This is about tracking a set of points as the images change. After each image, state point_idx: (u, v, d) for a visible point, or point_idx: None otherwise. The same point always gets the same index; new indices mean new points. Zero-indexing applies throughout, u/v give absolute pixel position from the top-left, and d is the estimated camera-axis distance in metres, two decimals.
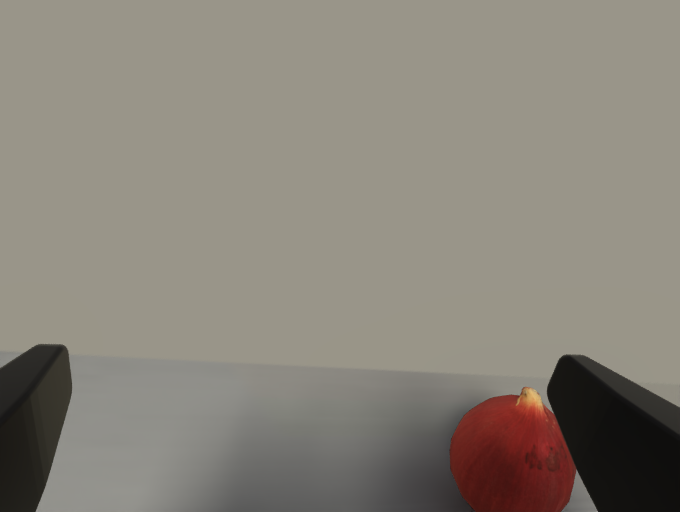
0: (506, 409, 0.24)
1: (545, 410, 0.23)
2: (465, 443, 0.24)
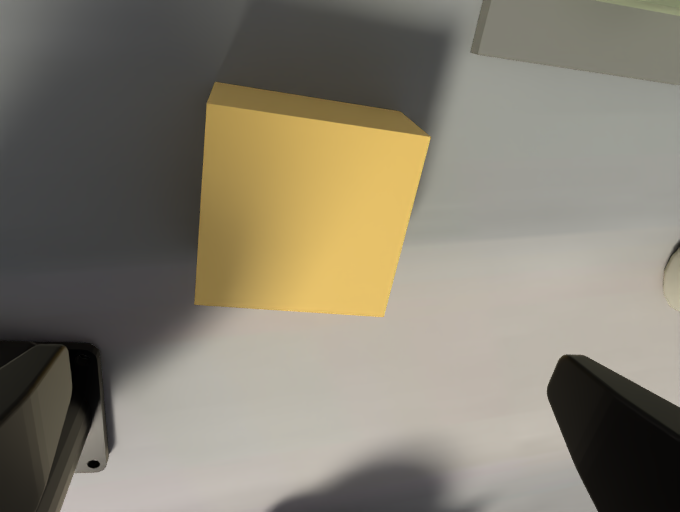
0: None
1: None
2: None
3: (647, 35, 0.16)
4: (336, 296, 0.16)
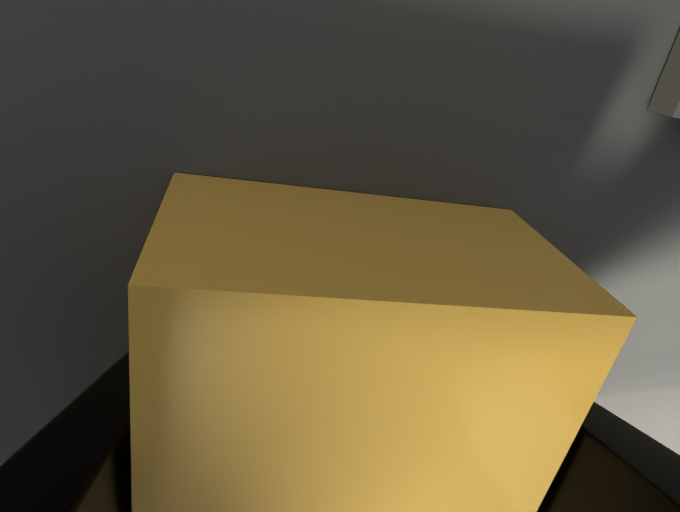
0: None
1: None
2: None
3: None
4: None
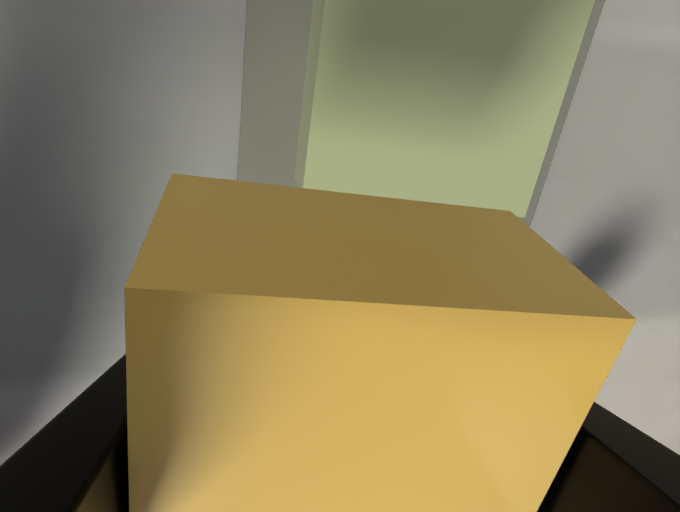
0: None
1: None
2: None
3: None
4: None
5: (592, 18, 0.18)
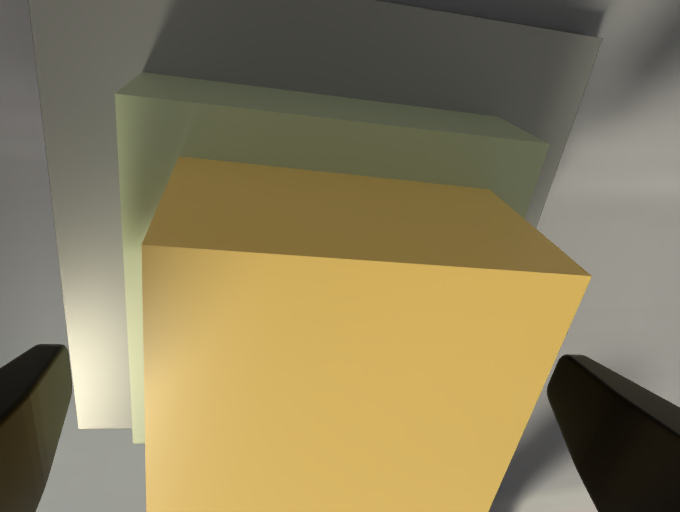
0: None
1: None
2: None
3: None
4: None
5: (545, 177, 0.13)
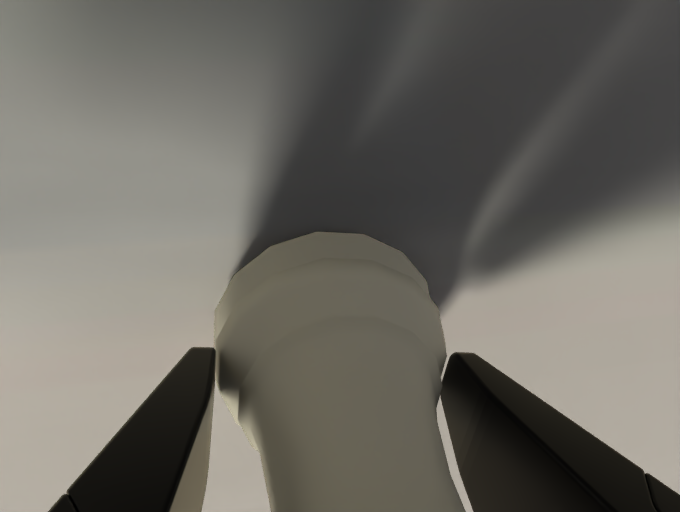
0: None
1: None
2: None
3: None
4: None
5: None
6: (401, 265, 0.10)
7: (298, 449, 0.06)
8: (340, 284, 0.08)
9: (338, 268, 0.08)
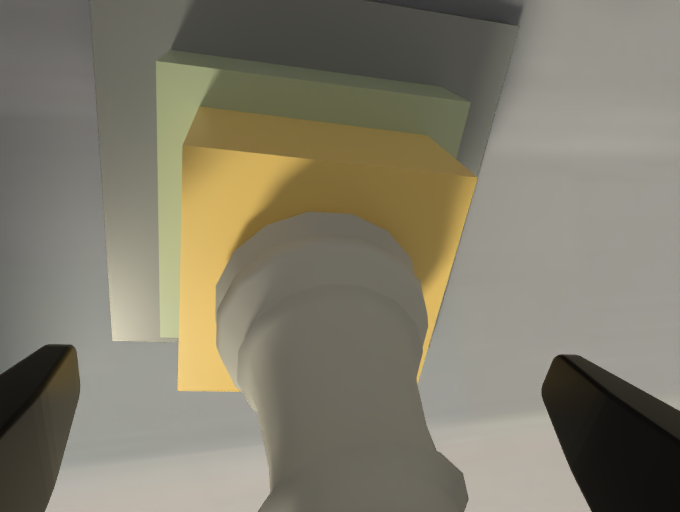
0: None
1: None
2: None
3: None
4: None
5: (481, 136, 0.17)
6: (387, 243, 0.10)
7: (289, 396, 0.07)
8: (329, 257, 0.09)
9: (327, 242, 0.09)
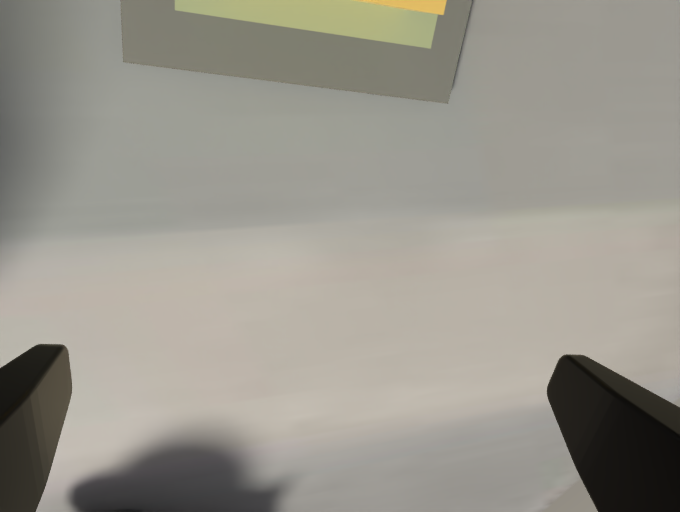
0: None
1: None
2: None
3: (286, 44, 0.18)
4: None
5: None
6: None
7: None
8: None
9: None
